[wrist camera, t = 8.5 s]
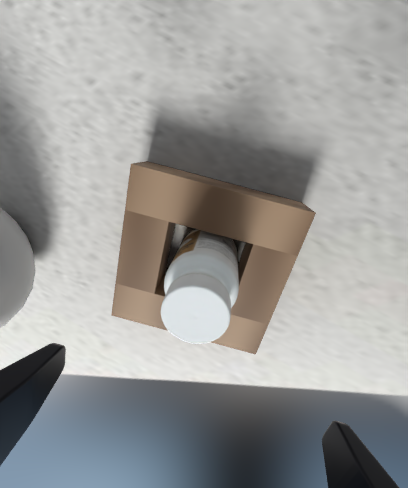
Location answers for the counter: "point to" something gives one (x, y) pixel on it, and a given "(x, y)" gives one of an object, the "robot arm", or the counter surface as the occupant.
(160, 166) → the socket block
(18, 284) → the donut
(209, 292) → the pill bottle
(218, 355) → the counter surface
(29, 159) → the counter surface
